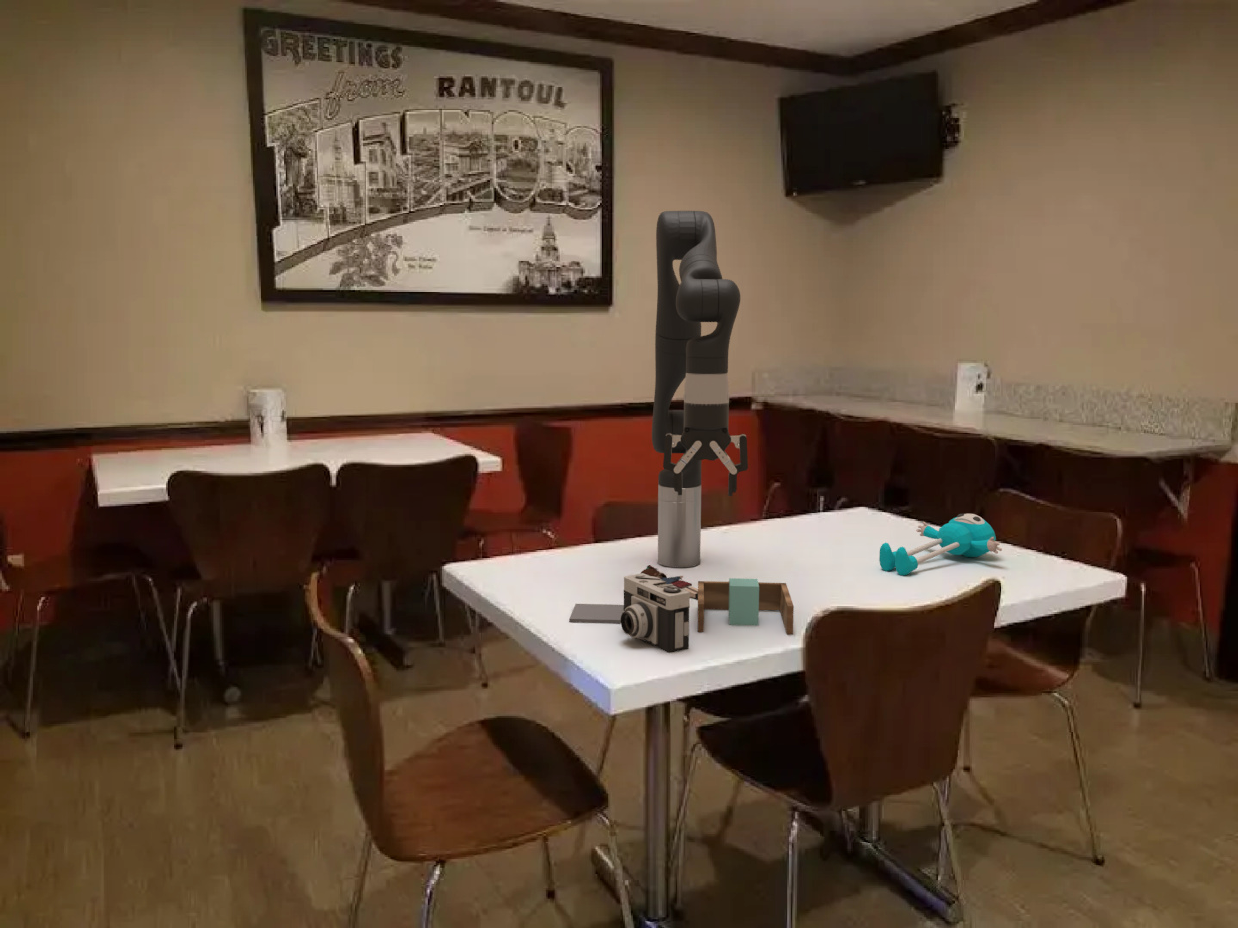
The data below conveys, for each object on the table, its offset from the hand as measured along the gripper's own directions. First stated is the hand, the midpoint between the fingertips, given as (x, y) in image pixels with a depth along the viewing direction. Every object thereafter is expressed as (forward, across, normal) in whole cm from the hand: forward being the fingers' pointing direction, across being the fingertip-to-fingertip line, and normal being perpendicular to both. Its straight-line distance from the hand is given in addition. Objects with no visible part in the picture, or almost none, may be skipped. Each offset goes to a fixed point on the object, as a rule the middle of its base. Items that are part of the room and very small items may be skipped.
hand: (704, 494), depth 165 cm
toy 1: (+24, +6, -20) cm, 32 cm away
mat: (+23, +19, -4) cm, 30 cm away
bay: (+23, -7, -3) cm, 24 cm away
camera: (+23, +9, +9) cm, 27 cm away
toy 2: (+24, -50, -47) cm, 73 cm away
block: (+23, -7, -3) cm, 24 cm away
